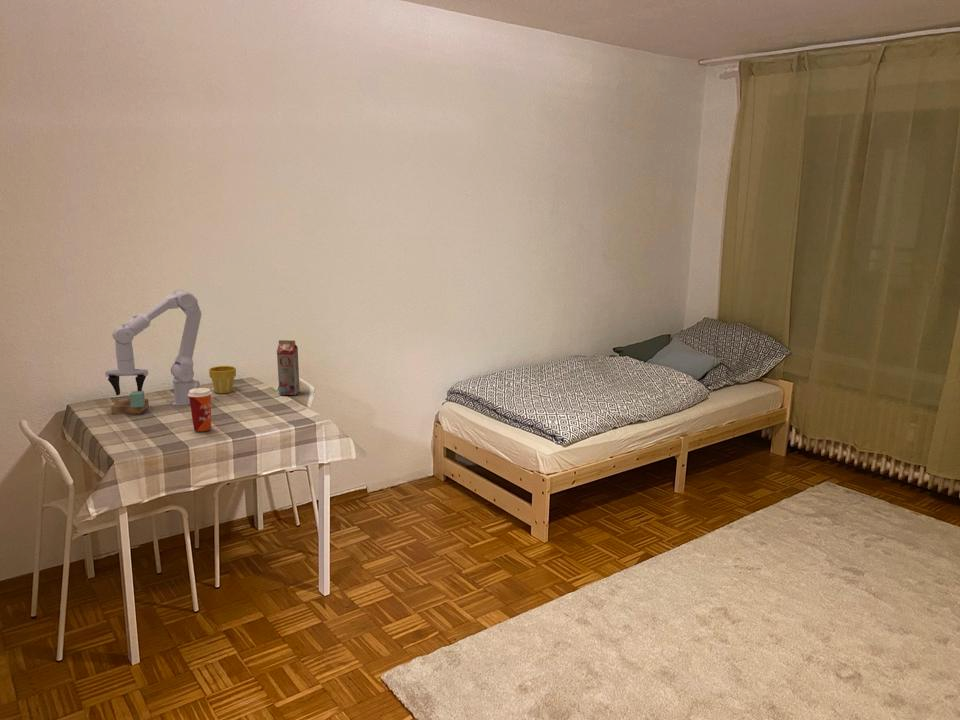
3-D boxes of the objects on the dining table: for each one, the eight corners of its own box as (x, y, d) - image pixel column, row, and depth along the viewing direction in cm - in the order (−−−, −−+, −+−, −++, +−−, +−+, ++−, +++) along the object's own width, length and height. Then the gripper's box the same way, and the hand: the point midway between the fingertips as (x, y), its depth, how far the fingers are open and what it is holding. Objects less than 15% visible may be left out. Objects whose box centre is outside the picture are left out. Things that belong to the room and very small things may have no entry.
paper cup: (207, 433, 249) (204, 393, 246) (186, 431, 250) (183, 392, 247) (218, 426, 256) (215, 387, 253) (198, 424, 258) (195, 386, 254)
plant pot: (240, 387, 306) (238, 365, 303) (233, 394, 295) (231, 371, 293) (215, 388, 305) (213, 365, 303) (207, 394, 295) (205, 371, 293)
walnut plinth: (148, 406, 279) (148, 398, 278) (140, 413, 269) (139, 406, 268) (121, 406, 278) (120, 399, 277) (111, 414, 268) (111, 406, 267)
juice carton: (295, 394, 296) (292, 342, 291) (279, 394, 296) (276, 341, 291) (299, 390, 303) (297, 338, 297) (283, 390, 303) (281, 338, 298)
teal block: (145, 403, 271) (143, 390, 270) (142, 406, 268) (141, 393, 266) (133, 404, 271) (132, 391, 269) (130, 407, 267) (129, 394, 266)
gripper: (149, 356, 274) (152, 390, 277) (108, 357, 272) (112, 392, 275) (143, 360, 267) (146, 396, 270) (101, 361, 265) (105, 397, 268)
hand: (129, 394), depth 272 cm, fingers open, 7 cm apart
